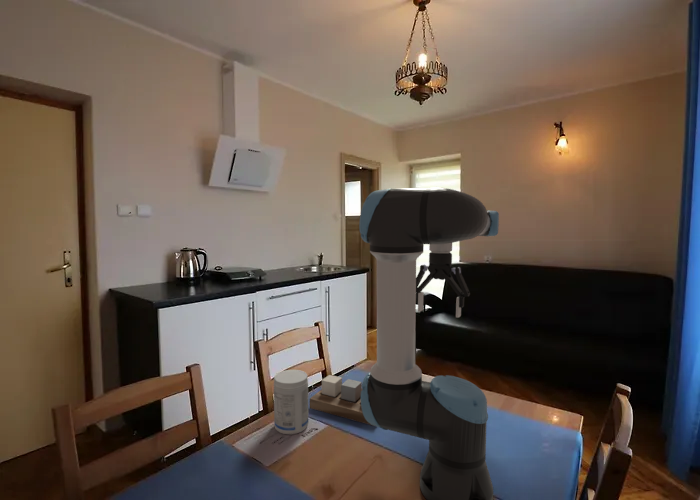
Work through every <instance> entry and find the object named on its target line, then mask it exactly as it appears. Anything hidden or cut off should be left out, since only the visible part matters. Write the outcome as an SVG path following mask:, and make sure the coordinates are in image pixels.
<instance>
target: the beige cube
mask: <svg viewBox="0 0 700 500" xmlns="http://www.w3.org/2000/svg"><path fill="white" fill-rule="evenodd" d="M342 384H343V377H341V376H336V375H331V374H328V375H327V376H326V377H323V378H322V380H321V389H322V394H325V395H328V396H329V397H333V398H336V397H335V396H337V395H338V394H339V393H340V392H341V385H342Z"/></svg>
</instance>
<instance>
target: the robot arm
mask: <svg viewBox="0 0 700 500" xmlns="http://www.w3.org/2000/svg"><path fill="white" fill-rule="evenodd" d="M359 216H360V217H359V233H360V238H361V239H362V241H363V242H364V243H366V244H369V253H370V254H371V255H372V256H373V257H374V258H375V259H376V362H375V363H374V364H373V365H372V366H371V368H370V370H369V371H368V372H367V373H366V374H365V376H364V377H363V380H362V391H361V408H362V412H363V415H364V417H365V419H366V420H367V422H369V423H370V424H371V425H370V426H373V425H374V427H378V428H380V429H382V430H383V431H392V432H396V433H401V434H404V435H408V436H412V437H415V438H419V439H424V440H427V441H428V445H429V446H428V451H427V454H426V457H425V459H424V461H423V464H422V467H421V469H420V474H419V487H420V488H419V489H420V491H421V494H422V496H423V497H424V498H425V499H426V500H494V487H493V485H494V484H493V482H492V479H491V476H490V471H489V469H488V466H487V462H486V457H487V456H486V453H487V452H486V451H487V424H488V423H487V422H488V419H489V414H488V400H487V397H486V395H485V393H484V392H483V390H482V389H481V388H480V387H478V385H476V384H474V383H473V382H471V381H469V380H467V379H466V378H465V379H464V378H461V377H458V376H454V375H448V374H446V375H442V374H441V375H436V376H434V377H433V378H431V381H427V380H426V381H425V380H423V379H422V378H423V373H422V369H421V368H420V366H418V365H417V364H416V322H417V321H416V311H417V312H419V313H421V312H422V311H424V295H425V294H424V292H423V290H424V289H425V288H426V287H427V285H428V284H429V283H430V282H431V281H432V280H433V279H434V280H440V281H444V280H445V281H446V282H447V283H448V284H449V285H450V287H451V288H452V290H453V291H454V292H455V293H456V295H457V297H455V298H456V300H455V301H456V303H455V318H460V317H461V316H462V308H464V307H465V298H467V297H470V295H471V292H470V290H469V287H468V285H467V283H466V280H465V278H464V276H463V274H462V267H461V266H458V267H453V266H452V264H453V254H452V251H453V243H457V242H461V241H468V240H472V239H475V238H476V237H495V236H497V235H498V234H499V225H500V224H499V223H500V213H499V211H497V210H489V209H488V210H487V209H486V206H485V205H484V204H483V202H481V200H479V199H478V198H476V197H475V196H473V195H472V194H471V195H470V194H468V193H466V192H462V191H459V190H456V189H453V188H452V189H451V188H445V187H424V188H423V187H420V188H419V187H418V188H384V189H379V190H374V191H372V192H370V193H369V195H368V196H367V197H366V198H365V200H364V202H363V204H362V207H361V211H360V214H359ZM424 245H428V246H429V247H428V248H429V250H428V251H430V252H429V255H428V265H426V264H421V265H420V267H419V272H418V273H417V260H418V258H419V257H421V255H422V254H423V253H424ZM427 271H428V272H429V274H428V275H427V276H426V278H425V279H424V280H423V281H422V279H423V277H424V276H425V273H426V272H427ZM452 273H453V274H454V275H455V277H456V280H457V282H458V283H457V282H456V281H455V280H454V277H453V276H452ZM421 281H422V282H421ZM420 283H421V284H420ZM416 303H417V305H416ZM416 308H417V310H416Z"/></svg>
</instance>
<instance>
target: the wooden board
mask: <svg viewBox="0 0 700 500" xmlns="http://www.w3.org/2000/svg"><path fill="white" fill-rule="evenodd" d="M309 409H312V410H314V411H315V410H316V411H318V412H322V413H326V414H331V415H333V416H337V417H339V418H344V419H348V420H351V421H355V422H359V423H363V424H366V425H369V426H374V425H371V424H370V423H369V422H367V420H366V419H365V417H364V415H363V412H362V408H361V397H360V398H359V399H358V400H357V401H356V402H353V401H349V400H345V399H341V392H340V393H339V394H338V395H337V396H335V397H333V396H329V395H325V394H322V388H321V389H320V390H319V391H317V392H316V393H315V394H314V395H312V396H311V397H309ZM374 427H375V426H374Z"/></svg>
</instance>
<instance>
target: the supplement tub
mask: <svg viewBox="0 0 700 500" xmlns="http://www.w3.org/2000/svg"><path fill="white" fill-rule="evenodd" d="M273 414H274V415H273V418H274V419H273V420H274V422H273V423H274V424H273V425H274V428H275V430H276V431H277V432H278V433H279V434H282V435H296V434H298V433H299V434H300V433H301V432H303V431H304V430H305V429H306V428H308V425H309V379H308V374H307V372H306V371H303V370H300V369H286V370H281V371H280V372H277V373H276V374H275V375H274V378H273Z"/></svg>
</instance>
